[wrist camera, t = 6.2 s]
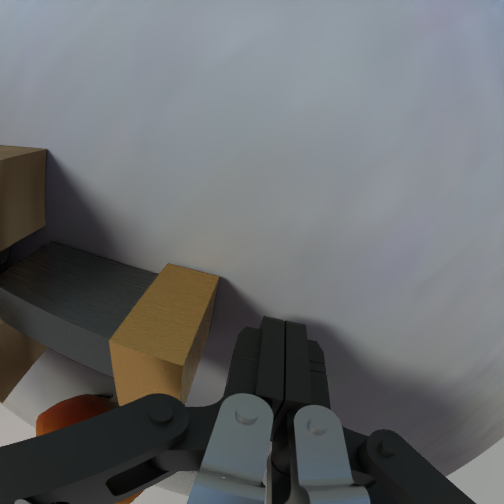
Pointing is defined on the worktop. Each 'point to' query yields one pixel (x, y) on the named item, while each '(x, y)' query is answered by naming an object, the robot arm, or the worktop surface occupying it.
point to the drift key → (113, 317)
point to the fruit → (77, 417)
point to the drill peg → (4, 254)
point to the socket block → (9, 232)
